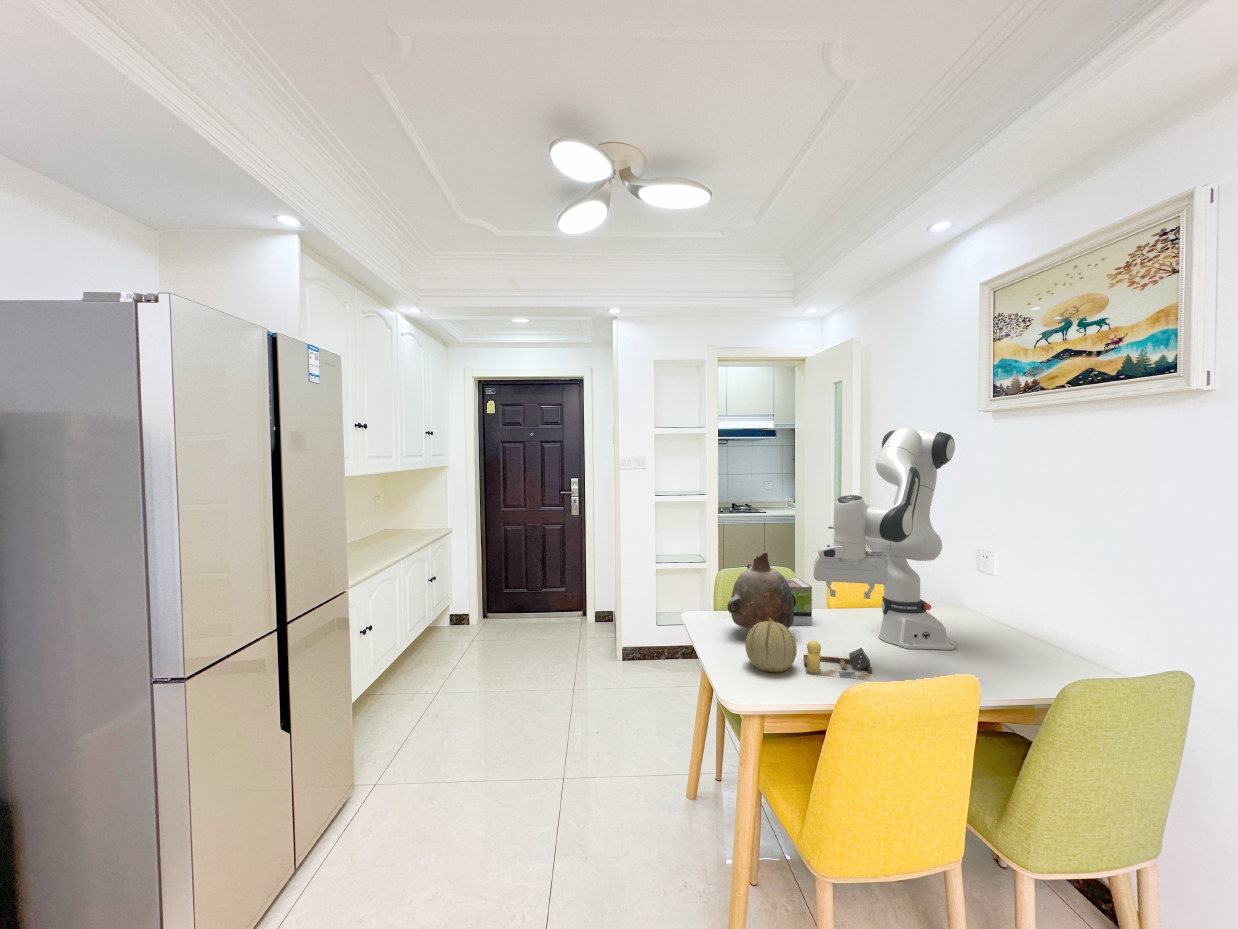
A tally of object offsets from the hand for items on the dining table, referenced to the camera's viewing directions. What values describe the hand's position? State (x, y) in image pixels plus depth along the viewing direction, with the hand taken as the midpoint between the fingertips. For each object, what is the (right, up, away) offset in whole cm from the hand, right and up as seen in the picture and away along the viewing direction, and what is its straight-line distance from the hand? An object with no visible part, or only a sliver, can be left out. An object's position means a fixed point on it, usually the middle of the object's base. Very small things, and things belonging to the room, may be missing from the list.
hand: (849, 597), depth 159 cm
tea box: (-1, -21, +48) cm, 52 cm away
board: (-5, -21, -3) cm, 22 cm away
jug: (-18, -21, +30) cm, 41 cm away
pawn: (-13, -20, -5) cm, 24 cm away
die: (0, -19, -2) cm, 19 cm away
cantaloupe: (-24, -22, -1) cm, 32 cm away
